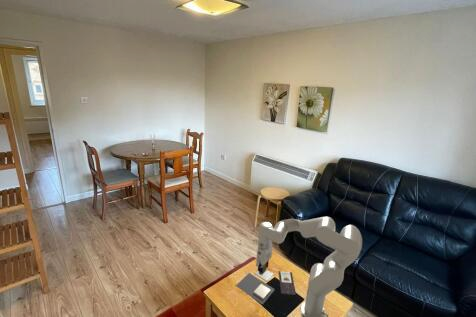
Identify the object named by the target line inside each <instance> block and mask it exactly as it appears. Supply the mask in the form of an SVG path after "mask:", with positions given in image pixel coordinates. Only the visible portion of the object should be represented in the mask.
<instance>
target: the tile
mask: <svg viewBox="0 0 476 317" xmlns="http://www.w3.org/2000/svg"><path fill="white" fill-rule="evenodd" d="M270 291H271V290H270V289H269V288H267V287H266V286H264V285H263V284H260V286H259V287H258V288H257V289H256V290H255V291H254V293H255V294H256V295H258V296H259V297H260V298H262V299H264V298H265V297H266V296H267V295H268V294H269V292H270Z"/></svg>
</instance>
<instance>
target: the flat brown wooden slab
mask: <svg viewBox="0 0 476 317" xmlns="http://www.w3.org/2000/svg"><path fill="white" fill-rule="evenodd" d="M260 265H261V263H260ZM266 270H267V262H266V263H265V264H264V265H263V273H264V272H265V271H266ZM263 273H261V272H259V274H260V275H262V274H263Z"/></svg>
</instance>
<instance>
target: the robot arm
mask: <svg viewBox="0 0 476 317" xmlns="http://www.w3.org/2000/svg"><path fill="white" fill-rule="evenodd" d="M291 232H299V233H300V234H301V236H302V237H303V238H306V239H308V238H314V237H315V238H316V239H317V241H319V242H320V243H321V244H322V245H325V246H327V247H329V248H331V249H333V250H334V251H332V252H331V253H330V254H329V255H328V256H326V257H325V259H324V261H323V263H322V262H321V263H320V262H317V263H314V264H313V265H312V266H311V269H310V273H309V277H308V283H307V289H306V290H307V291H306V296H305V301H304V302H303V303H302V305H301V307H300V309H301V310H300V311H301V314H302V316H303V317H330V316H329V314H328V313H326V312H325V307H324V304H325V300H326V296H327V295H329V294H330V293H332V292H333V291H335V290H336V289H337V288H339V287H340V286H341V285H342V283H343V281H344V278H345V277H344V275H345V270H346V268H347V267H348V266H350V265H352V263H354V261H356V259H357V258H358V256H360V253H361V251H362V247H363V237H362V236H363V235H362V234H361V231H360V230H359V228H357V226H355V225H354V224H348V225H345V226H344V227H343V228H342V229H341V231H340V233H338V232H337V231H336V222H335V221H334V219H333V218H332V217H330V216H321V217H316V218H311V219H306V220H305V219H303V220H299V219H295V218H288V219H282V220H280V221H278V222H277V223H276V224H275V225H274V227H273V224H272V223H270V222H269V221H262V222H260V223H259V224H258V238H257V241H258V242H257V250H256V257H255V258H256V263H255V266H256V267H257V270H258V271H259V272H261V273H263V265H264V264H265V263H266V262H267V268H269V261H270V259H272V257H273V245H272V244H273V243H275V244H278V245H279V244H282V243H283V242H284V241H285V238H286V236H287V234H288V233H291ZM272 242H273V243H272ZM260 263H261V265H260ZM267 268H266V269H267Z"/></svg>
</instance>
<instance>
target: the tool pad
mask: <svg viewBox="0 0 476 317" xmlns="http://www.w3.org/2000/svg"><path fill="white" fill-rule="evenodd" d="M254 275H256V276H258V277H259V278H261V279H263V280H264V281H266V282H268V281H269V280H270V279H271V278H272V277H273V276H274V273H273V272H272V271H269V270H267V269H266V271H265V272H264V273H263V274H262V275H260V274H259V271H258V269H257V270H256V271H255V272H254Z"/></svg>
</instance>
